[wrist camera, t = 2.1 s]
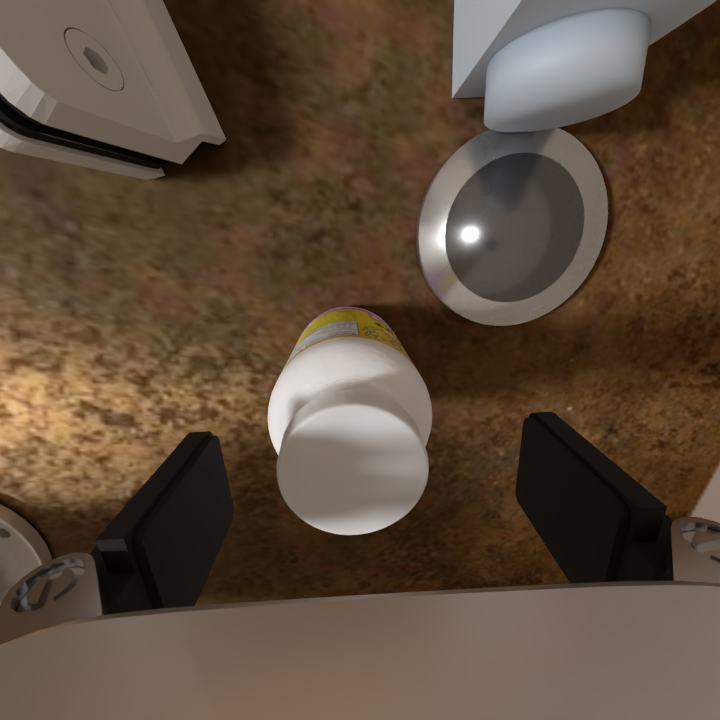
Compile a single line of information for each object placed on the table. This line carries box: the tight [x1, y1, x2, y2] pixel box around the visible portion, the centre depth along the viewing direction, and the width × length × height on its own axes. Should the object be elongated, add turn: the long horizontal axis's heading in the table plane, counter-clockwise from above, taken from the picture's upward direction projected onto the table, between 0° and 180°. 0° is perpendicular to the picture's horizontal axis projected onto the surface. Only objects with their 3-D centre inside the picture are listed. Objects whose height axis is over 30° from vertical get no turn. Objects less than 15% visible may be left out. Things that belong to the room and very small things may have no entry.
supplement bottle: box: [268, 307, 432, 535], centre depth 16 cm, size 7×7×13 cm
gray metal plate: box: [415, 128, 608, 326], centre depth 20 cm, size 11×11×1 cm
